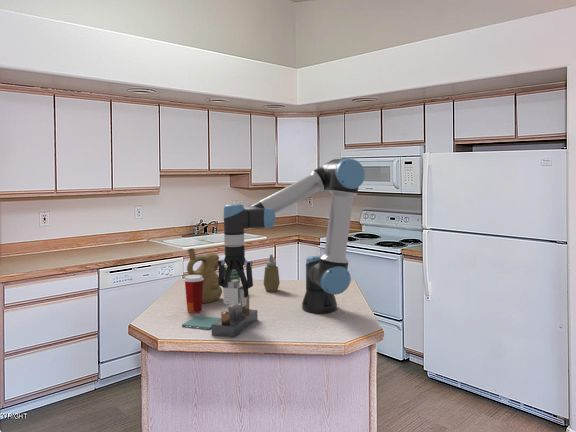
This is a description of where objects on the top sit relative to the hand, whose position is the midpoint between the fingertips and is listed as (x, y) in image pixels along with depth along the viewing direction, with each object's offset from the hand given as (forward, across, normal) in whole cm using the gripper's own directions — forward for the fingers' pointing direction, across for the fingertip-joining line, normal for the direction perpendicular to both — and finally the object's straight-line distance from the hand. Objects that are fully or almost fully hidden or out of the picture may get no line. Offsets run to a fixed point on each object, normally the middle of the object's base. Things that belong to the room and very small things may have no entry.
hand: (236, 304), depth 185 cm
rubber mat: (+9, +14, 0) cm, 17 cm away
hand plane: (+9, 0, 0) cm, 9 cm away
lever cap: (-2, 0, 0) cm, 2 cm away
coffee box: (+9, +25, -49) cm, 56 cm away
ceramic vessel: (+9, +31, -31) cm, 45 cm away
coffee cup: (+9, +26, -14) cm, 31 cm away
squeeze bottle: (+9, +7, -57) cm, 58 cm away
